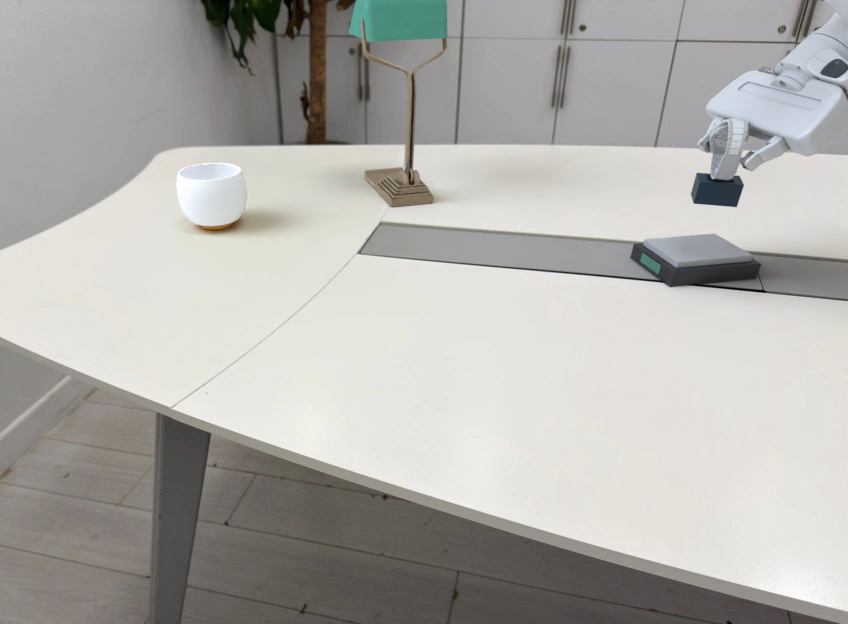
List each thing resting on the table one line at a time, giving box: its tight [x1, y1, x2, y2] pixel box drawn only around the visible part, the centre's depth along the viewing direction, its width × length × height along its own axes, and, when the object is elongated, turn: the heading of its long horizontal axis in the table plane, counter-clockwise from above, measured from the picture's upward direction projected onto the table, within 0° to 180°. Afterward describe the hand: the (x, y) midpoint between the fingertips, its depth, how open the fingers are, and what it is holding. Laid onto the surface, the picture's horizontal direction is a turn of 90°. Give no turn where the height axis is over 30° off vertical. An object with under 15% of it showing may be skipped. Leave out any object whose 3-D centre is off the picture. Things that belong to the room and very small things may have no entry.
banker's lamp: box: [348, 0, 448, 208], centre depth 129 cm, size 16×21×35 cm
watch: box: [690, 118, 750, 208], centre depth 93 cm, size 6×8×11 cm
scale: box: [630, 233, 762, 287], centre depth 103 cm, size 14×11×3 cm
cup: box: [175, 162, 248, 231], centre depth 120 cm, size 12×12×10 cm
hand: (722, 157), depth 93 cm, fingers closed on watch, 8 cm apart
